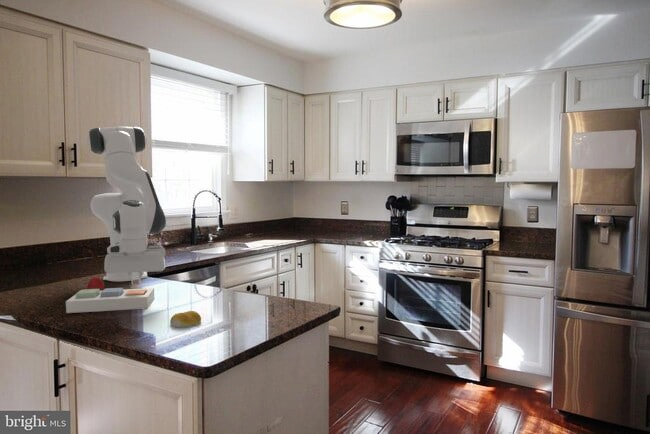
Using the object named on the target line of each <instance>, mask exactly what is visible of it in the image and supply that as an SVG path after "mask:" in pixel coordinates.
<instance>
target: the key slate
mask: <svg viewBox="0 0 650 434" xmlns="http://www.w3.org/2000/svg"><path fill="white" fill-rule="evenodd" d="M123 290H124V287H110V288H109V287H107V288H105V287H104V289H103V290H102V292H101V297H113V296H121V295H122V294H123Z"/></svg>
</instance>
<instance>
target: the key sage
mask: <svg viewBox="0 0 650 434" xmlns="http://www.w3.org/2000/svg"><path fill="white" fill-rule="evenodd" d="M75 294H76V298H94V297H97V296H98V295H99V294H100V289H88V288H86V289H80V290H78V292H76V293H75Z"/></svg>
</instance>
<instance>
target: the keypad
mask: <svg viewBox="0 0 650 434" xmlns="http://www.w3.org/2000/svg"><path fill="white" fill-rule="evenodd" d="M144 289H146V290H147V292H146V293H145V295H132V296H125V294H126V293H127V292H128V291H129V290H144ZM102 291H103V290H102ZM102 291H100V294H99V295H98V296H97V297H94V298H76V293H75V294H74V295H72V296H71V297H70V298H68V299H67V300H65V309H66V310H65V313H66V314H72V313H74V314H75V313H89V312H106V311H107V312H108V311H109V312H110V311H125V310H127V311H128V310H141V309H142V310H143V309H149V308H150V306H151V305H152V302H153V301H154V300H155V288H154V287H148V288H147V287H146V288H131V289H130V288H125V289H123V294H122V295H121V296H113V297H101V292H102Z"/></svg>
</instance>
